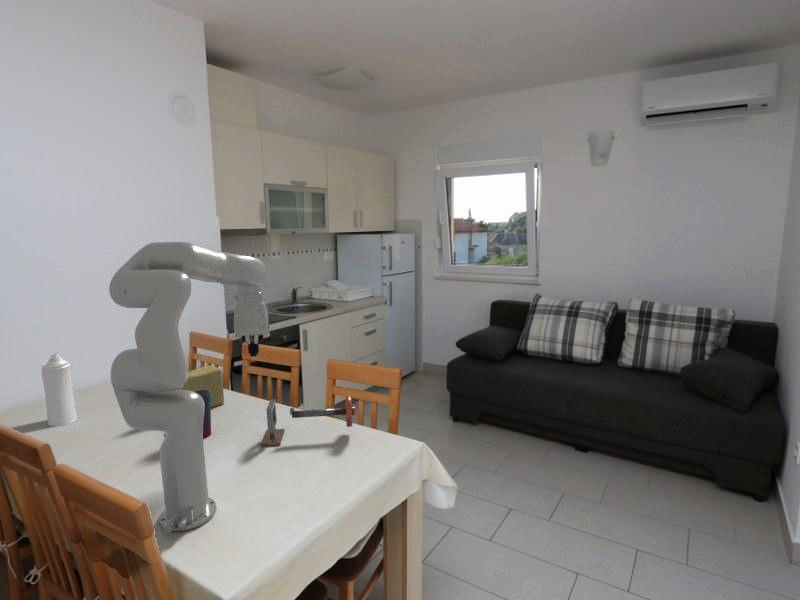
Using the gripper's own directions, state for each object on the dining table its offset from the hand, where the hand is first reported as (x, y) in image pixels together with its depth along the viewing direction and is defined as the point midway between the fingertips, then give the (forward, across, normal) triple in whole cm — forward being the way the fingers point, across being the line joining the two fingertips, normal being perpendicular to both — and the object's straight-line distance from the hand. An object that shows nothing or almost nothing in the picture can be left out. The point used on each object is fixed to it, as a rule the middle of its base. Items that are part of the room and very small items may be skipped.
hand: (254, 355), depth 148 cm
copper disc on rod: (+25, +21, 0) cm, 33 cm away
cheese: (+28, -31, +27) cm, 50 cm away
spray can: (+28, -76, +24) cm, 85 cm away
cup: (+29, -20, +5) cm, 35 cm away
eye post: (+28, +4, 0) cm, 29 cm away
